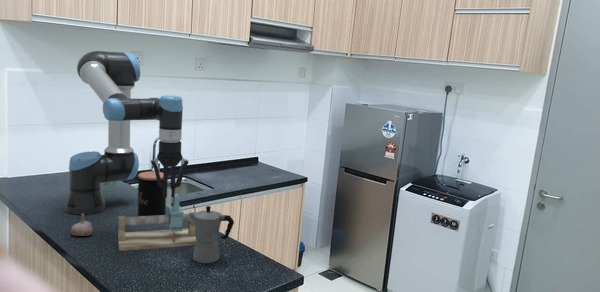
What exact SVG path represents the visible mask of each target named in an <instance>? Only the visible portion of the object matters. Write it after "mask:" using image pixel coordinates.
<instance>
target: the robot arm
mask: <svg viewBox="0 0 600 292" xmlns="http://www.w3.org/2000/svg"><path fill="white" fill-rule="evenodd" d="M76 72H77V74H78V77H79V78H80V80H81V81H82V82H83V83H85V84H87V85H89V87H90V88H91V90H93V91H94V93H95V94H96V95H97V97H98V98H99V100H101V102H102V103H103V104H102V113H103V116H104V118H105V120H107V123H108V125H107V126H108V127H107V129H108V134H107V136H108V137H107V139H108V140H107V141H108V145H107V147H106V148H104V154H102V153H100V151H94V150H93V151H83V152H79V153H76V154H74V155H72V156H71V157H70V159H69V163H68V171H69V172H68V173H69V174H68V175H69V177H68V178H69V191H68V196H67V198H66V200H65V205H64V211H65V212H66V213H69V214H72V215H81V214H84V215H92V214H97V213H100V212H102V211H105V209H106V202H105V198H104V196H103V195H104V194H103V193H102V189H101V186H102V185H101V184H104V183H111V182H112V183H113V182H121V181H122V182H124V181H128V180H129V181H130V180H132V179H134V178H136V176H137V174H138V172H139V168H140V162H139V156H138V154H137V153H136V152H135V151H134V148H133V147H131V121H153V120H155V121H159V126H158V127H159V128H158V129H159V130H158V140H159V141H158V153H157V156H156V157H155V158H154V159H151V160H150V164H151V165H152V166H153V169H154V172H155V174H156V178H157V183H158V186H159V187H161V188H163V196H164V198H166V205H165V207H166V208H169V207H171V206H172V198H173V197H174V196H175V194H176V193H175V191H176V188H179V187H181V184H182V180H183V179H184V178H183V176H184V174H185V170H186V167H187V166H188V164H189V163H190V162H189V160H188V159H185V158H184V157H183V155H182V142H181V140H182V138H183V137H182V135H183V134H182V132H183V131H182V130H183V129H182V128H183V110H184V109H183V108H184V107H183V98H182V96H178V95H169V94H167V95H161V96H160V98H159V97H148V98H132V95H131V94H132V92H131V91H132V89H134V87H136V86H135V84H136V82H138V81H140V77H141V67H140V63H139V60H138V59H137V56H136V55H134V54H132V53H129V52H122V51H121V52H120V51H119V52H118V51H105V50H104V51H102V50H94V51H90V52H86V53H85V54H84V55H83V56H81V57H80V58H79V60H78V62H77V65H76ZM159 162H160V164H161V165H162V167H163V170H162V171H163V172H162V173H163V183H161V179H160V174H159V172H160V170H159V167H158V165H159ZM179 163H180V164H181V165H180V167H179V171H178V175H177V177H176V170H177V168H176V167H177V166H178V165H179ZM169 168H170V186H168V185H169V184H168V176H169V174H168V173H169ZM176 178H177V179H176Z"/></svg>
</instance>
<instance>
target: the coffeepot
mask: <svg viewBox="0 0 600 292" xmlns="http://www.w3.org/2000/svg"><path fill="white" fill-rule="evenodd" d="M205 208H206V209H205V210H200V211H194V212H193V211H192V212H193V213H192V212H189V213H190V214H189V213H188V214H189V216H190V217H191V218H192V220H193V222H194V224H195V236H196V243H195V245H194V249H193V253H192V260H193V261H194V262H196V263H200V264H211V263H214V262H215V263H216V262H217V261H219V259H220V258H221V257H220V249H219V243H218V242H219V241H218V236H219V234H220V233H219V232H220V227H221V223H222V222H228V224H227V226H226V230H225V232H224V235H221V236H220V238H221V239H222V240H227V239H228V238H229V236H230V233H231V231H232V228H233V227H234V223H235V221H234V219H233V218H232V216H231V215H226V214H222V213H221V212H218V211H215V210H211V208H212V207H211V206H210V205H206V207H205Z"/></svg>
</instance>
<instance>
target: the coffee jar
mask: <svg viewBox="0 0 600 292" xmlns="http://www.w3.org/2000/svg"><path fill="white" fill-rule="evenodd" d="M159 174H160V179H161V183H163V172H161V171H159ZM138 178H139V179H138V181H137V182H138V185H137V187H138V188H137V190H138V191H137V216H156V215H166V198H164V196H163V188H161V187H159V186H158V183H157V178H156V174H155V171H144V172H140V173H138Z"/></svg>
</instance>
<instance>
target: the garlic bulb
mask: <svg viewBox="0 0 600 292" xmlns="http://www.w3.org/2000/svg"><path fill="white" fill-rule="evenodd" d="M85 215H86V214H80V221H79V222H78V223H75V224H73V225H72V226H71V228H70V234H71V235H72V236H76V237H78V236H81V237H85V236H86V237H89V236H90V237H91V235H93V231H94V230H93V227H94V226H93V224H92V222H90V221H88V220H85Z"/></svg>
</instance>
